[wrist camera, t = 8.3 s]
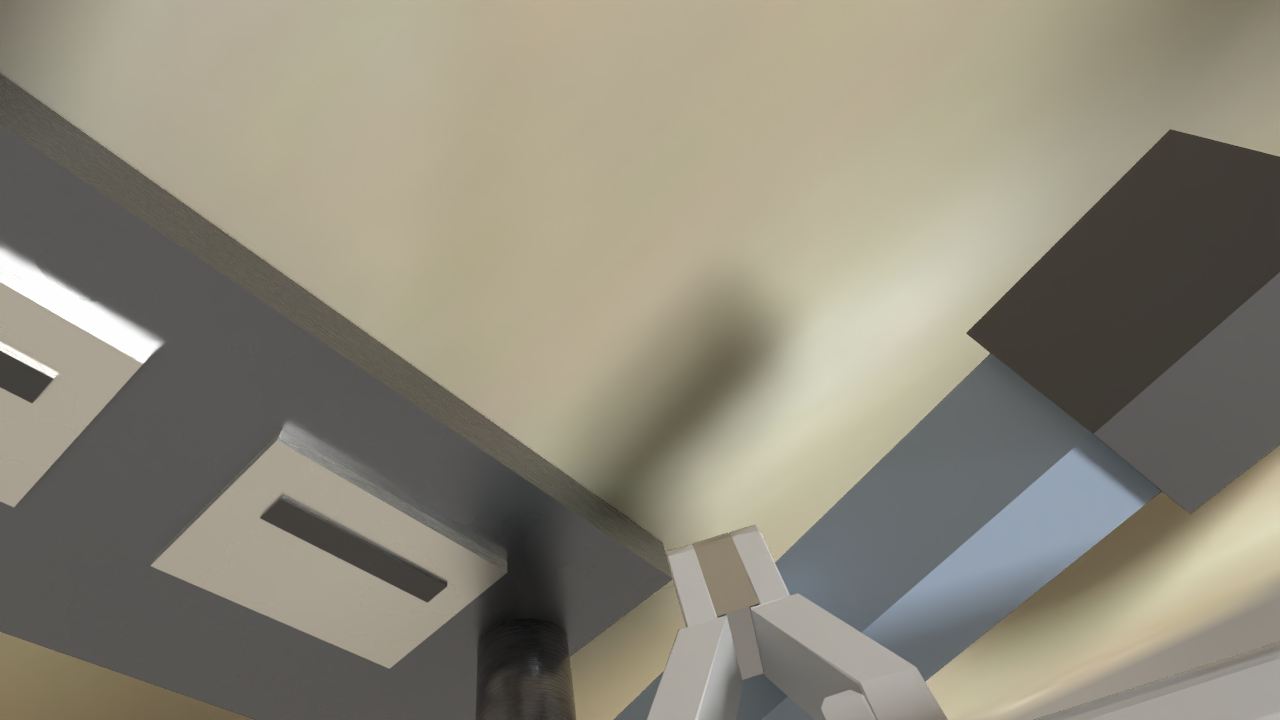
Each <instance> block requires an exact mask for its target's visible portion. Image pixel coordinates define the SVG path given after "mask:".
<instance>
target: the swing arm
mask: <svg viewBox="0 0 1280 720" xmlns="http://www.w3.org/2000/svg"><path fill="white" fill-rule="evenodd" d="M967 334H968V335H969V336H970V337H972V338H973V339H974V340H975V341H976V342H978V343H979V344H980V345H981V346H983V347H984V348H985V349H986V350H987V351H989V352H990V354H989V355H988V356H987V357H986V358H985V359H984V360H983V361H982V362H981V363H980V364H979V365H978V366H977V367H976V368H975V369H974V370H973V371H972V372H971V373H970V374H969V375H968V376H967V377H966V378H965V379H964V380H963V381H962V382H961V383H960V384H959V385H958V386H957V387H955V388H954V389H953V390H952V391H951V392H950V393H949V394H948V395H947V396H946V397H945V398H944V399H943V400H942V401H941V402H940V403H939V404H938V405H937V406H936V407H935V408H934V409H933V410H932V411H931V412H930V413H929V414H928V415H927V416H926V417H925V418H924V419H923V420H922V421H920V422H919V423H918V424H917V425H916V426H915V427H914V428H913V429H912V430H911V431H910V432H909V433H908V434H907V435H906V436H905V437H904V438H903V439H902V440H901V441H900V442H899V443H898V444H897V445H896V446H895V447H894V448H893V449H892V450H891V451H890V452H889V453H888V454H887V455H886V456H884V457H883V458H882V459H881V460H880V461H879V462H878V463H877V464H876V465H875V466H874V467H873V468H872V469H871V470H870V471H869V472H868V473H867V474H866V475H865V476H864V477H863V478H862V479H861V480H860V481H859V482H858V483H857V484H856V485H855V486H854V487H853V488H852V489H851V490H850V491H848V492H847V493H846V494H845V495H844V496H843V497H842V498H841V499H840V500H839V501H838V502H837V503H836V504H835V505H834V506H833V507H832V508H831V509H830V510H829V511H828V512H827V513H826V514H825V515H824V516H823V517H822V518H821V519H820V520H819V521H818V522H817V523H816V524H815V525H814V526H812V527H811V528H810V529H809V530H808V531H807V532H806V533H805V534H804V535H803V536H802V537H801V538H800V539H799V540H798V541H797V542H796V543H795V544H794V545H793V546H792V547H791V548H790V549H789V550H788V551H787V552H786V553H785V554H784V555H783V556H782V557H781V558H780V559H779V560H777V561H776V562H775V564H776V566H777V568H778V570H779V573H780V575H781V577H782V579H783V581H784V583H785V585H786V588H787V590H788V592H789V594H790V595H793V594H797V593H799V594H800V595H802V596H803V597H805V598H807V599H808V600H810V601H811V602H813V603H815V604H816V605H818V606H819V607H821V608H823V609H824V610H826V611H827V612H829V613H831V614H832V615H834V616H835V617H837V618H839V619H840V620H842V621H843V622H845V623H847V624H848V625H850V626H851V627H853V628H855V629H856V630H858V631H859V632H861V633H863V634H864V635H866V636H867V637H869V638H871V639H872V640H874V641H875V642H877V643H879V644H880V645H882V646H883V647H885V648H887V649H888V650H890V651H891V652H893V653H895V654H896V655H898V656H899V657H901V658H903V659H904V660H906V661H907V662H909V663H911V664H912V665H914V666H915V667H917V669H918V671H919V672H920V674H921V676H922V677H923V679H924V681H926V680H928V679H929V678H930V677H931V676H933V675H934V674H935V673H936V672H938V671H939V670H940V669H941V668H943V667H944V666H945V665H946V664H948V663H949V662H950V661H951V660H952V659H954V658H955V657H956V656H957V655H959V654H960V653H961V652H962V651H964V650H965V649H966V648H967V647H969V646H970V645H971V644H972V643H974V642H975V641H976V640H977V639H979V638H980V637H981V636H982V635H984V634H985V633H986V632H987V631H989V630H990V629H991V628H992V627H994V626H995V625H996V624H997V623H998V622H1000V621H1001V620H1002V619H1003V618H1005V617H1006V616H1007V615H1008V614H1010V613H1011V612H1012V611H1013V610H1015V609H1016V608H1017V607H1018V606H1020V605H1021V604H1022V603H1023V602H1025V601H1026V600H1027V599H1028V598H1030V597H1031V596H1032V595H1033V594H1035V593H1036V592H1037V591H1038V590H1040V589H1041V588H1042V587H1043V586H1044V585H1046V584H1047V583H1048V582H1049V581H1051V580H1052V579H1053V578H1054V577H1056V576H1057V575H1058V574H1059V573H1061V572H1062V571H1063V570H1064V569H1066V568H1067V567H1068V566H1069V565H1071V564H1072V563H1073V562H1074V561H1076V560H1077V559H1078V558H1079V557H1081V556H1082V555H1083V554H1084V553H1086V552H1087V551H1088V550H1089V549H1090V548H1092V547H1093V546H1094V545H1095V544H1097V543H1098V542H1099V541H1100V540H1102V539H1103V538H1104V537H1105V536H1107V535H1108V534H1109V533H1110V532H1112V531H1113V530H1114V529H1115V528H1117V527H1118V526H1119V525H1120V524H1122V523H1123V522H1124V521H1125V520H1127V519H1128V518H1129V517H1130V516H1132V515H1133V514H1134V513H1135V512H1137V511H1138V510H1139V509H1140V508H1141V507H1143V506H1144V505H1145V504H1146V503H1148V502H1149V501H1150V500H1151V499H1153V498H1154V497H1155V496H1156V495H1158V494H1159V493H1160V492H1161V491H1162V492H1163V493H1164V494H1166V495H1167V496H1168V497H1169V498H1171V499H1172V500H1173V501H1174V502H1176V503H1177V504H1178V505H1180V506H1181V507H1182V508H1183V509H1185V510H1186V511H1187V512H1188V513H1190V514H1191V513H1193V512H1194V511H1195V510H1196V509H1198V508H1199V507H1200V506H1202V505H1203V504H1204V503H1205V502H1207V501H1208V500H1209V499H1210V498H1212V497H1213V496H1214V495H1216V494H1217V493H1218V492H1219V491H1221V490H1222V489H1223V488H1225V487H1226V486H1227V485H1228V484H1230V483H1231V482H1232V481H1234V480H1235V479H1236V478H1237V477H1239V476H1240V475H1241V474H1243V473H1244V472H1245V471H1246V470H1248V469H1249V468H1250V467H1252V466H1253V465H1254V464H1255V463H1257V462H1258V461H1259V460H1261V459H1262V458H1263V457H1264V456H1266V455H1267V454H1268V453H1270V452H1271V451H1272V450H1273V449H1275V448H1276V447H1277V446H1279V445H1280V157H1278V156H1274V155H1270V154H1266V153H1262V152H1258V151H1254V150H1250V149H1246V148H1242V147H1238V146H1234V145H1230V144H1226V143H1222V142H1218V141H1214V140H1210V139H1206V138H1202V137H1198V136H1194V135H1190V134H1186V133H1182V132H1178V131H1174V130H1169V131H1168V132H1167V133H1166V134H1165V135H1164V136H1163V137H1162V138H1161V139H1160V140H1159V141H1158V142H1157V143H1156V144H1155V145H1154V146H1153V147H1152V148H1151V149H1150V150H1149V151H1148V152H1147V153H1146V154H1145V155H1144V156H1143V157H1142V158H1141V159H1140V160H1139V161H1138V162H1137V163H1136V164H1135V165H1134V166H1133V167H1132V168H1131V169H1130V170H1129V171H1128V172H1127V173H1126V174H1125V175H1124V176H1123V177H1122V178H1121V179H1120V180H1119V181H1118V182H1117V183H1116V184H1115V185H1114V186H1113V187H1112V188H1111V189H1110V190H1109V191H1108V192H1107V193H1106V194H1105V195H1104V196H1103V197H1102V198H1101V199H1100V200H1099V201H1098V202H1097V203H1096V204H1095V205H1094V206H1093V207H1092V208H1091V209H1090V210H1089V211H1088V212H1087V213H1086V214H1085V215H1084V216H1083V217H1082V218H1081V219H1080V220H1079V221H1078V222H1077V223H1076V224H1075V225H1074V226H1073V227H1072V228H1071V229H1070V230H1069V231H1068V232H1067V233H1066V234H1065V235H1064V236H1063V237H1062V238H1061V239H1060V240H1059V241H1058V242H1057V243H1056V244H1055V245H1054V246H1053V247H1052V248H1051V249H1050V250H1049V251H1048V252H1047V253H1046V254H1045V255H1044V256H1043V257H1042V258H1041V259H1040V260H1039V261H1038V262H1037V263H1036V264H1035V265H1034V266H1033V267H1032V268H1031V269H1030V270H1029V271H1028V272H1027V273H1026V274H1025V275H1024V276H1023V277H1022V278H1021V279H1020V280H1019V281H1018V282H1017V283H1016V284H1015V285H1014V286H1013V287H1012V288H1011V289H1010V290H1009V291H1008V292H1007V293H1006V294H1005V295H1004V296H1003V297H1002V298H1001V299H1000V300H999V301H998V302H997V303H996V304H995V305H994V306H993V307H992V308H991V309H990V310H989V311H988V312H987V313H986V314H985V315H984V316H983V317H982V318H981V319H980V320H979V321H978V322H977V323H976V324H975V325H974V326H973V327H972V328H971V329H970V330H969V331H968V332H967ZM663 672H664V671H663ZM663 672H662V673H661V674H660V675H659V676H658V677H657V678H656V679H655V680H654V681H653V682H652V683H651V684H650V685H649V686H648V687H647V688H646V689H645V690H644V691H643V692H642V693H641V694H640V695H639V696H638V697H637V698H636V699H634V700H633V701H632V702H631V703H630V704H629V705H628V706H627V707H626V708H625V709H624V710H623V711H622V712H621V713H620V714H619V715H618V716H617V717H616V718H615V719H614V720H647V717H648V715H649V712H650V709H651V706H652V703H653V700H654V698H655V695H656V692H657V689H658V686H659V683H660V681H661V678H662V675H663ZM736 720H815V719H814V718H812V717H811V716H810V715H809V714H808V713H807V712H806V711H804V710H803V709H802V708H801V707H800V706H799V705H798V704H796V703H795V702H794V701H793V700H792V699H791V698H790V697H788V696H787V695H786V694H785V693H784V692H783V691H781V690H780V689H779V688H778V687H777V686H776V685H775V684H773V683H772V682H771V681H770V680H769V679H768V678H767V677H765V675H764V674H760V675H757V676H753V677H750V678H747V679H744V680H743V687H742V692H741V697H740V702H739V707H738V712H737V717H736Z"/></svg>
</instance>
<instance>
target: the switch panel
mask: <svg viewBox="0 0 1280 720" xmlns="http://www.w3.org/2000/svg"><path fill="white" fill-rule="evenodd" d="M671 580H672V575H671V572H670V568H669V565H668V561H667V557H666V553H665V550H664V546H663V543H662V542H660V541H659V540H658V539H656V538H655V537H653V536H652V535H651V534H649V533H648V532H646V531H645V530H644V529H642V528H641V527H639V526H638V525H636V524H635V523H634V522H632V521H631V520H629V519H628V518H627V517H625V516H624V515H622V514H621V513H620V512H618V511H617V510H615V509H614V508H612V507H611V506H610V505H608V504H607V503H605V502H604V501H603V500H601V499H600V498H598V497H597V496H596V495H594V494H593V493H591V492H590V491H588V490H587V489H586V488H584V487H583V486H581V485H580V484H579V483H577V482H576V481H574V480H573V479H572V478H570V477H569V476H567V475H566V474H564V473H563V472H562V471H560V470H559V469H557V468H556V467H555V466H553V465H552V464H550V463H549V462H548V461H546V460H545V459H543V458H542V457H541V456H539V455H538V454H536V453H535V452H533V451H532V450H531V449H529V448H528V447H526V446H525V445H524V444H522V443H521V442H519V441H518V440H517V439H515V438H514V437H512V436H511V435H509V434H508V433H507V432H505V431H504V430H502V429H501V428H500V427H498V426H497V425H495V424H494V423H493V422H491V421H490V420H488V419H487V418H485V417H484V416H483V415H481V414H480V413H478V412H477V411H476V410H474V409H473V408H471V407H470V406H469V405H467V404H466V403H464V402H463V401H461V400H460V399H459V398H457V397H456V396H454V395H453V394H452V393H450V392H449V391H447V390H446V389H445V388H443V387H442V386H440V385H439V384H438V383H436V382H435V381H433V380H432V379H430V378H429V377H428V376H426V375H425V374H423V373H422V372H421V371H419V370H418V369H416V368H415V367H414V366H412V365H411V364H409V363H408V362H406V361H405V360H404V359H402V358H401V357H399V356H398V355H397V354H395V353H394V352H392V351H391V350H390V349H388V348H387V347H385V346H384V345H382V344H381V343H380V342H378V341H377V340H375V339H374V338H373V337H371V336H370V335H368V334H367V333H366V332H364V331H363V330H361V329H360V328H359V327H357V326H356V325H354V324H353V323H351V322H350V321H349V320H347V319H346V318H344V317H343V316H342V315H340V314H339V313H337V312H336V311H335V310H333V309H332V308H330V307H329V306H327V305H326V304H325V303H323V302H322V301H320V300H319V299H318V298H316V297H315V296H313V295H312V294H311V293H309V292H308V291H306V290H305V289H303V288H302V287H301V286H299V285H298V284H296V283H295V282H294V281H292V280H291V279H289V278H288V277H287V276H285V275H284V274H282V273H281V272H279V271H278V270H277V269H275V268H274V267H272V266H271V265H270V264H268V263H267V262H265V261H264V260H263V259H261V258H260V257H258V256H257V255H256V254H254V253H253V252H251V251H250V250H248V249H247V248H246V247H244V246H243V245H241V244H240V243H239V242H237V241H236V240H234V239H233V238H232V237H230V236H229V235H227V234H226V233H224V232H223V231H222V230H220V229H219V228H217V227H216V226H215V225H213V224H212V223H210V222H209V221H208V220H206V219H205V218H203V217H202V216H200V215H199V214H198V213H196V212H195V211H193V210H192V209H191V208H189V207H188V206H186V205H185V204H184V203H182V202H181V201H179V200H178V199H176V198H175V197H174V196H172V195H171V194H169V193H168V192H167V191H165V190H164V189H162V188H161V187H160V186H158V185H157V184H155V183H154V182H153V181H151V180H150V179H148V178H147V177H145V176H144V175H143V174H141V173H140V172H138V171H137V170H136V169H134V168H133V167H131V166H130V165H129V164H127V163H126V162H124V161H123V160H121V159H120V158H119V157H117V156H116V155H114V154H113V153H112V152H110V151H109V150H107V149H106V148H105V147H103V146H102V145H100V144H99V143H97V142H96V141H95V140H93V139H92V138H90V137H89V136H88V135H86V134H85V133H83V132H82V131H81V130H79V129H78V128H76V127H75V126H73V125H72V124H71V123H69V122H68V121H66V120H65V119H64V118H62V117H61V116H59V115H58V114H57V113H55V112H54V111H52V110H51V109H50V108H48V107H47V106H45V105H44V104H42V103H41V102H40V101H38V100H37V99H35V98H34V97H33V96H31V95H30V94H28V93H27V92H26V91H24V90H23V89H21V88H20V87H18V86H17V85H16V84H14V83H13V82H11V81H10V80H9V79H7V78H6V77H4V76H3V75H2V74H0V632H3V633H6V634H9V635H12V636H15V637H18V638H20V639H23V640H26V641H29V642H32V643H35V644H38V645H41V646H44V647H46V648H49V649H52V650H55V651H58V652H61V653H64V654H67V655H70V656H73V657H75V658H78V659H81V660H84V661H87V662H90V663H93V664H96V665H99V666H102V667H104V668H107V669H110V670H113V671H116V672H119V673H122V674H125V675H128V676H131V677H133V678H136V679H139V680H142V681H145V682H148V683H151V684H154V685H157V686H160V687H162V688H165V689H168V690H171V691H174V692H177V693H180V694H183V695H186V696H189V697H191V698H194V699H197V700H200V701H203V702H206V703H209V704H212V705H215V706H218V707H220V708H223V709H226V710H229V711H232V712H235V713H238V714H241V715H244V716H247V717H249V718H252V719H255V720H576V713H575V704H574V694H573V685H572V675H571V666H570V656H571V655H573V654H574V653H575V652H577V651H578V650H579V649H581V648H582V647H583V646H585V645H586V644H587V643H589V642H590V641H591V640H592V639H594V638H595V637H596V636H598V635H599V634H600V633H602V632H603V631H604V630H606V629H607V628H608V627H610V626H611V625H612V624H614V623H615V622H616V621H618V620H619V619H620V618H622V617H623V616H624V615H626V614H627V613H628V612H630V611H631V610H632V609H634V608H635V607H636V606H637V605H639V604H640V603H641V602H643V601H644V600H645V599H647V598H648V597H649V596H651V595H652V594H653V593H655V592H656V591H657V590H659V589H660V588H661V587H663V586H664V585H665V584H667V583H668V582H669V581H671Z"/></svg>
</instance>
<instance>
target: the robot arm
mask: <svg viewBox="0 0 1280 720" xmlns="http://www.w3.org/2000/svg"><path fill="white" fill-rule="evenodd" d="M666 556H667V561H668V565H669V568H670V572H671V575H672V579H673V582H674V586H675V589H676V593H677V597H678V600H679V604H680V607H681V611H682V614H683V618H684V621H685V625H686V628H683V629H680V630H678V633H677V635H676V638H675V641H674V644H673V647H672V650H671V652H670V655H669V658H668V661H667V664H666V667H665V669H664V672H663V675H662V678H661V681H660V683H659V686H658V689H657V692H656V695H655V698H654V700H653V703H652V706H651V709H650V712H649V715H648V717H647V720H736V717H737V712H738V707H739V702H740V697H741V692H742V687H743V680H744V679H747V678H750V677H753V676H757V675H760V674H764V675H765V677H767V678H768V679H769V680H770V681H771V682H772V683H773V684H775V685H776V686H777V687H778V688H779V689H780V690H781V691H783V692H784V693H785V694H786V695H787V696H788V697H790V698H791V699H792V700H793V701H794V702H795V703H796V704H798V705H799V706H800V707H801V708H802V709H803V710H804V711H806V712H807V713H808V714H809V715H810V716H811V717H812V718H814V719H815V720H948V719H947V718H946V716H945V714H944V713H943V711H942V709H941V708H940V706H939V704H938V703H937V701H936V699H935V698H934V696H933V694H932V693H931V691H930V689H929V688H928V686H927V684H926V682H925V681H924V679H923V677H922V676H921V674H920V672H919V671H918V669H917V667H915V666H914V665H912V664H911V663H909V662H907V661H906V660H904V659H903V658H901V657H899V656H898V655H896V654H895V653H893V652H891V651H890V650H888V649H887V648H885V647H883V646H882V645H880V644H879V643H877V642H875V641H874V640H872V639H871V638H869V637H867V636H866V635H864V634H863V633H861V632H859V631H858V630H856V629H855V628H853V627H851V626H850V625H848V624H847V623H845V622H843V621H842V620H840V619H839V618H837V617H835V616H834V615H832V614H831V613H829V612H827V611H826V610H824V609H823V608H821V607H819V606H818V605H816V604H815V603H813V602H811V601H810V600H808V599H807V598H805V597H803V596H802V595H800V594H799V593H797V594H793V595H790V594H789V592H788V590H787V588H786V585H785V583H784V581H783V579H782V577H781V575H780V573H779V570H778V568H777V566H776V564H775V562H774V560H773V558H772V555H771V553H770V551H769V549H768V547H767V545H766V543H765V540H764V538H763V536H762V534H761V532H760V530H759V528H758V527H757V526H756V525H752V526H749V527H745V528H742V529H739V530H736V531H732V532H729V533H725V534H722V535H719V536H715V537H712V538H709V539H706V540H703V541H699V542H695V543H693V544H690V545H686V546H682V547H679V548H675V549H672V550H668V551H666ZM1035 720H1280V641H1278V642H1275V643H1272V644H1269V645H1266V646H1262V647H1259V648H1256V649H1253V650H1250V651H1247V652H1244V653H1241V654H1238V655H1235V656H1232V657H1228V658H1225V659H1222V660H1219V661H1216V662H1212V663H1209V664H1206V665H1203V666H1200V667H1197V668H1194V669H1191V670H1188V671H1184V672H1182V673H1178V674H1175V675H1172V676H1169V677H1166V678H1162V679H1159V680H1156V681H1153V682H1150V683H1147V684H1144V685H1141V686H1137V687H1134V688H1132V689H1128V690H1125V691H1122V692H1119V693H1116V694H1112V695H1109V696H1106V697H1103V698H1100V699H1097V700H1094V701H1091V702H1088V703H1084V704H1081V705H1078V706H1075V707H1072V708H1069V709H1066V710H1063V711H1059V712H1056V713H1053V714H1050V715H1047V716H1044V717H1041V718H1038V719H1035Z"/></svg>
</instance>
